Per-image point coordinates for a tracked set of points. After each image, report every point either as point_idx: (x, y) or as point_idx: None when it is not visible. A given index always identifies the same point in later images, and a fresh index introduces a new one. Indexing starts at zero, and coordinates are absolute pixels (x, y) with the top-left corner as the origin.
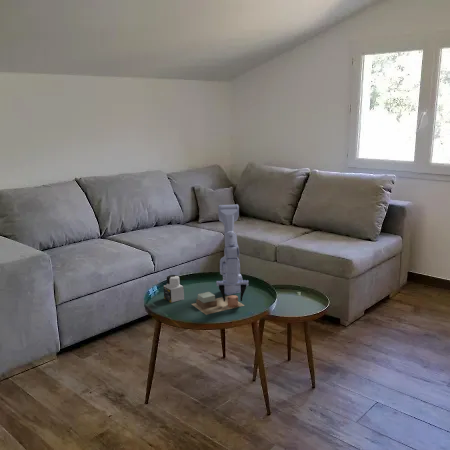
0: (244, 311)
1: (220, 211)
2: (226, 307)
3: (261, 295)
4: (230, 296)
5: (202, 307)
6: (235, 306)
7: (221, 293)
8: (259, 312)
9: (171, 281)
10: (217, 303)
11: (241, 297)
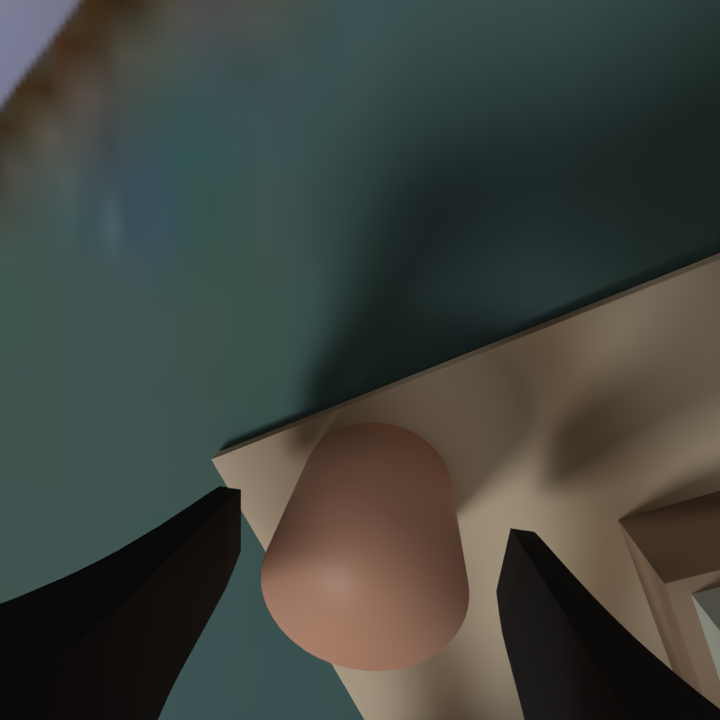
0: (226, 275)
1: None
2: (483, 434)
3: None
4: (403, 629)
5: None
6: (343, 430)
7: (685, 682)
8: (12, 203)
9: None
10: None
11: (188, 519)
